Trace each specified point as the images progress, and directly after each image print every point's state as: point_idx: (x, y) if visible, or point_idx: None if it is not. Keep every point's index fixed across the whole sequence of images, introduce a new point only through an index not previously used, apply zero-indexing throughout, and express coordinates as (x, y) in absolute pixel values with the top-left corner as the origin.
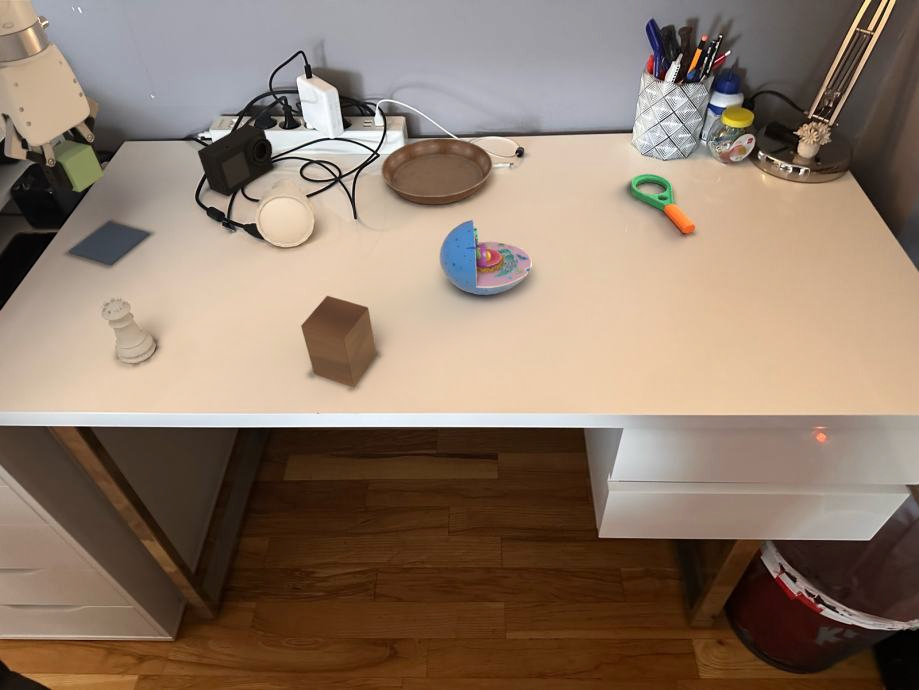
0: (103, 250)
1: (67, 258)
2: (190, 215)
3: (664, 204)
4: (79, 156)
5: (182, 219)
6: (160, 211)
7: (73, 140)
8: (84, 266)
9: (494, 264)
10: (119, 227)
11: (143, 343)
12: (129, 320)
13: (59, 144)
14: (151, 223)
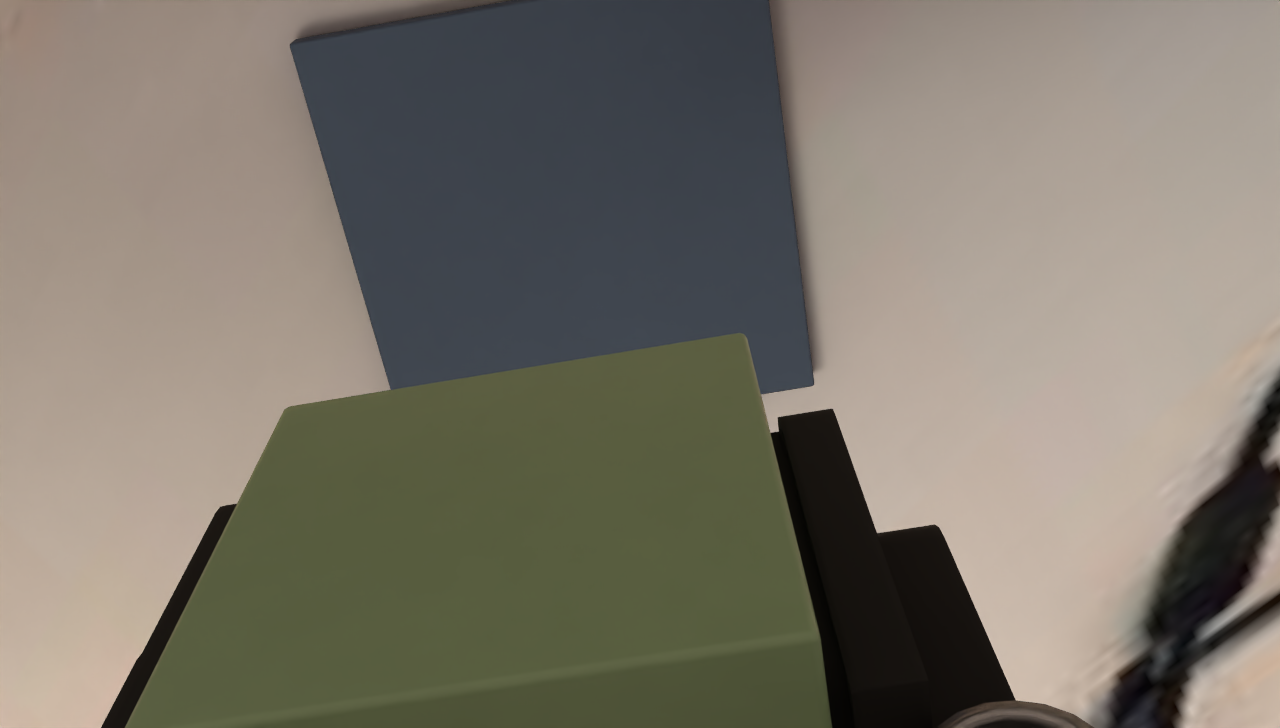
0: (473, 282)
1: (247, 84)
2: (1136, 424)
3: None
4: None
5: (1070, 415)
6: (1092, 187)
7: (888, 720)
8: (285, 288)
9: None
10: (744, 131)
11: None
12: None
13: (619, 681)
14: (928, 262)
